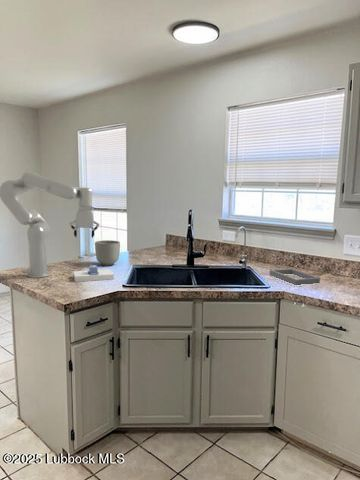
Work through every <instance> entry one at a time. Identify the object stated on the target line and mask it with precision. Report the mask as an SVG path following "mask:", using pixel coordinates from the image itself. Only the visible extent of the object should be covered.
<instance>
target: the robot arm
mask: <svg viewBox="0 0 360 480" xmlns="http://www.w3.org/2000/svg"><path fill="white" fill-rule="evenodd" d="M33 189H35V190H37V191H42V192H45V193H48V194H50V195H53V196H56V197H59V198H63V199H66V200H69V201H70V200H78V209H77V211H76V214H75V220H72V221H70V222H69V225H70V228H71V229H72V230H73V236H74V237H75V238H77V235H78V234H77V233H78V228H80V229H81V228H83V229H84V228H85V229H91V238H92V239H93V238H94V237H95V232H96V230H97V229H98V228H99V227H100V223H98V222H97V221H95V220H94V212H93V211H94V210H95V207H94V206H93V189H92V188H91V187H80V186H71V185H67V184H63V183H61V182H58V181H56V180H55V179H53V178H51V177H47V176H44V175H41V174H39V173H37V172H33V171H26V172H24V173H23V174H21V178H19V179H17V180H14V179H13V180H11V179H10V180H5V181H4V182H2V183H1V185H0V201H1V202H2V204H4V205H5V206H6V209H8V210H9V212H10V213H11V214H12V216H13V217H14V218H15V219H16V220H17V222H19V224H20V225H23V226H27V225H28V226H29V227H28V228H27V231H26V234H27V242H28V254H29V256H28V257H29V268H28V269H21V273H23V274H26V275H27V276H26V277H28V278H33V279H37V278H38V279H39V278H47V277H49V276H50V272H49V271H48V270H47V269H48V266H47V245H46V244H47V243H46V239H45V237H47V236H48V235H49V234H50V233H51V228H50V226H49V224H48V223H47V222H46V220H45V219H44V218H43V216H42V215H41V214H40V213H39V212H38V211H37V209H34V208H30V207H27V206H26V205H25V203H24V202H23V201H22V200H21V199H20V198H19V197H18V196H19V195H22V194H24V193H26V192H28V191H30V190H33ZM73 224H75V226H74V225H73ZM94 224H95V225H96V226H94Z"/></svg>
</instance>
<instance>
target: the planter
mask: <svg viewBox="0 0 360 480" xmlns="http://www.w3.org/2000/svg"><path fill="white" fill-rule="evenodd" d="M94 250H95V251H94V252H95V258H96V261H97V262H98V263H99V264H100V265H101V266H105V267H111V266H114V265H115V263H117V262H118V260H119V258H120V252H121V242H120V241H118V240H108V239H107V240H97V241H95V242H94Z"/></svg>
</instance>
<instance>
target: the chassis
mask: <svg viewBox="0 0 360 480" xmlns="http://www.w3.org/2000/svg"><path fill="white" fill-rule="evenodd" d="M97 273H98V275H89V270H80V271H78V270H77V271H76V270H75V271H74V270H73V278H74V282H75V283H79V282H93V281H108V280H110V281H111V280H114V275H115V274H114V273H113V271H111V269H97Z"/></svg>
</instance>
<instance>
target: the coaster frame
mask: <svg viewBox="0 0 360 480" xmlns="http://www.w3.org/2000/svg"><path fill="white" fill-rule="evenodd" d="M284 274H294V275H297V276H299V277H302V278H305V279H300V278H296V277H293V276H290V275H284ZM270 275H271V276H274V277H276V278H279V279H281V280H284V281H286V282H289V283H292V284H294V285H301V284H313V283H320V282H321V278H320V277H317V276H314V275H312V274H309V273H307V272H304V271H301V270H298V269H294V268H282V269H269V276H270ZM271 276H270V277H271ZM276 278H275V279H276ZM320 284H321V283H320Z"/></svg>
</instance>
